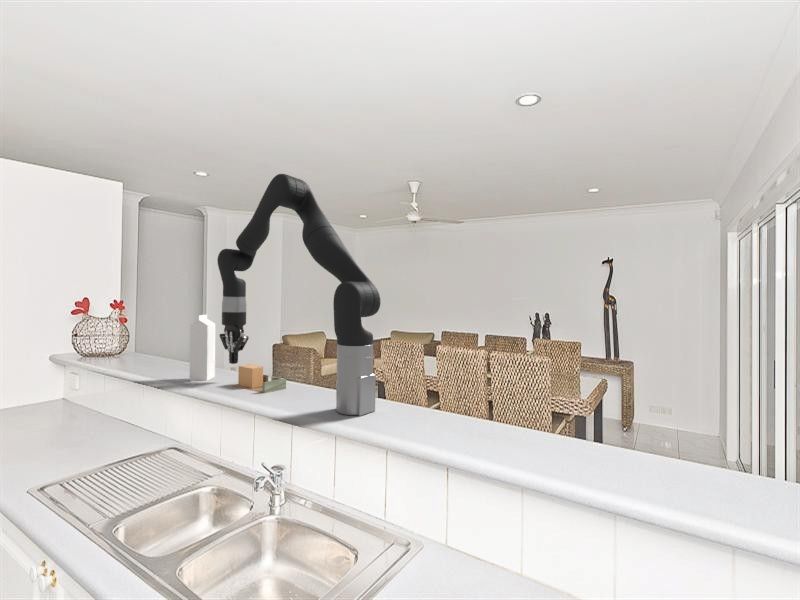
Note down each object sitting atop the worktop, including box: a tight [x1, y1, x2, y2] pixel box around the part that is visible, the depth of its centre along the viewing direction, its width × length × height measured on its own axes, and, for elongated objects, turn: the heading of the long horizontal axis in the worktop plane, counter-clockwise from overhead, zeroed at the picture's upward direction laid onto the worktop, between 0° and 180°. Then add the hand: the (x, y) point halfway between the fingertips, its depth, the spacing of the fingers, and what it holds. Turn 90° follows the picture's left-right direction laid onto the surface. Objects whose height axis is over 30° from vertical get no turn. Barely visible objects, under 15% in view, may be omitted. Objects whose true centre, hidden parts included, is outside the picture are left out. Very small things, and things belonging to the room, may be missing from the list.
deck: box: [233, 374, 287, 394], centre depth 139 cm, size 16×8×4 cm, turn 55°
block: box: [237, 364, 264, 388], centre depth 141 cm, size 7×4×6 cm, turn 55°
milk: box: [189, 314, 216, 382], centre depth 151 cm, size 6×6×22 cm
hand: (233, 363), depth 146 cm, fingers closed
